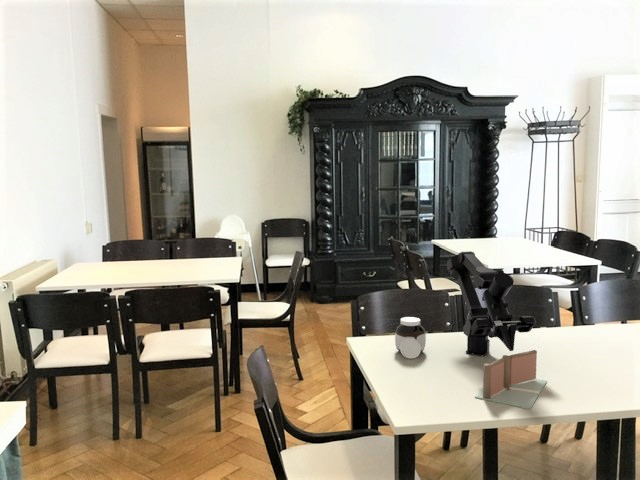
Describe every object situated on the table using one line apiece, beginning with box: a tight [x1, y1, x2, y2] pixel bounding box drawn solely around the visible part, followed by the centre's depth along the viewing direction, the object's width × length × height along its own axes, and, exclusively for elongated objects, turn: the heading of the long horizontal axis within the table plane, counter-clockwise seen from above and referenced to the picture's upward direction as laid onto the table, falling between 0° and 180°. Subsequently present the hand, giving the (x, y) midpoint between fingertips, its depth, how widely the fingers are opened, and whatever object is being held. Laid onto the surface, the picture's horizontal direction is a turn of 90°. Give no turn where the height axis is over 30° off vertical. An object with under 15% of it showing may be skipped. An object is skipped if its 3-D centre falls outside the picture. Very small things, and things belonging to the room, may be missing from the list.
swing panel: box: [501, 349, 538, 388], centre depth 154 cm, size 13×2×9 cm, turn 117°
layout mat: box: [474, 378, 548, 410], centre depth 151 cm, size 14×22×1 cm, turn 147°
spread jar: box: [394, 316, 427, 360], centre depth 183 cm, size 12×11×12 cm
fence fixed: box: [482, 358, 512, 399], centre depth 149 cm, size 6×13×10 cm, turn 147°
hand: (511, 350), depth 158 cm, fingers closed
